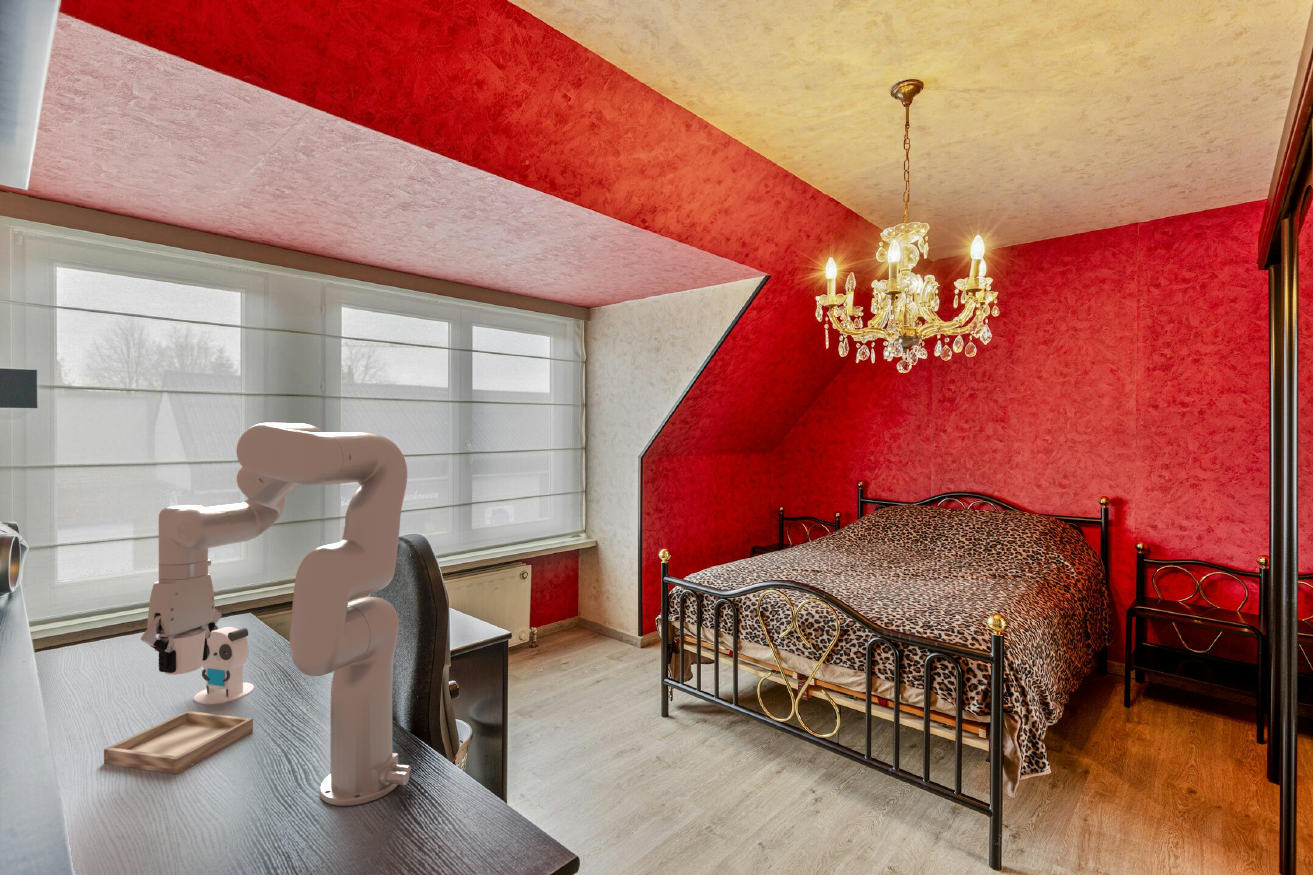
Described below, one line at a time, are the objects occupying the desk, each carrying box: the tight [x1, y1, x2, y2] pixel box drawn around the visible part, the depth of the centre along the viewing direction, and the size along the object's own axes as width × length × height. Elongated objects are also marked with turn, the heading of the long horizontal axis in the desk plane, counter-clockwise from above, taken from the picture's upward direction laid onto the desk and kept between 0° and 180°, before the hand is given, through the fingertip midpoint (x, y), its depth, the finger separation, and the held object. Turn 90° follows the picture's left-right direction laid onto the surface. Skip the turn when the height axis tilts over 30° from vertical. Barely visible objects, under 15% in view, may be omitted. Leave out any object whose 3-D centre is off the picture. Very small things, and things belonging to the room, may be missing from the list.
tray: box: [103, 710, 254, 775], centre depth 119 cm, size 16×16×3 cm
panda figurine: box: [193, 624, 255, 705], centre depth 144 cm, size 12×11×15 cm
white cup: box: [163, 628, 206, 675], centre depth 119 cm, size 7×7×7 cm
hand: (183, 664), depth 119 cm, fingers closed on white cup, 5 cm apart
